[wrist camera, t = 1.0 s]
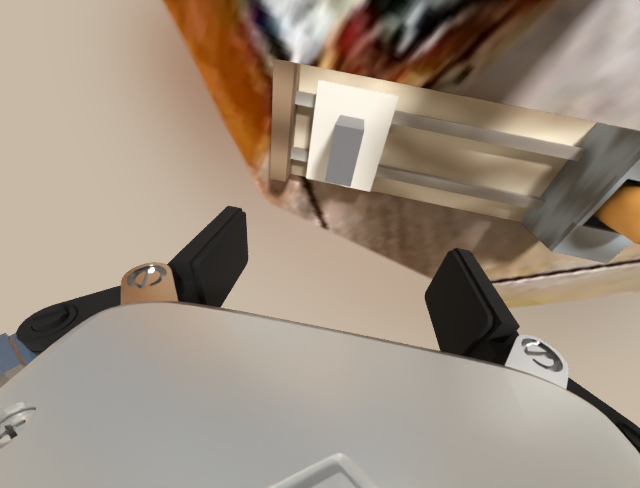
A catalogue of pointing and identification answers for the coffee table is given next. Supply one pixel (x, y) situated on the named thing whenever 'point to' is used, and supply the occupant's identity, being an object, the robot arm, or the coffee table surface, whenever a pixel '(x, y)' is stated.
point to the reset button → (622, 211)
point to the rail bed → (476, 157)
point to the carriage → (348, 134)
